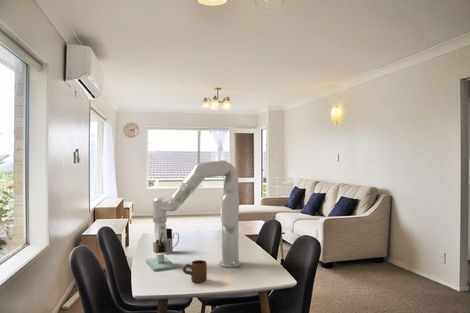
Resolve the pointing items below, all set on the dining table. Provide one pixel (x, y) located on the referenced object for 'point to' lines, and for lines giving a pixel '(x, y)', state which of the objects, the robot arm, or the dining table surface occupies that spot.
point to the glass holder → (169, 242)
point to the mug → (197, 271)
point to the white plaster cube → (160, 258)
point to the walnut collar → (156, 247)
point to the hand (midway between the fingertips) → (160, 250)
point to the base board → (161, 266)
